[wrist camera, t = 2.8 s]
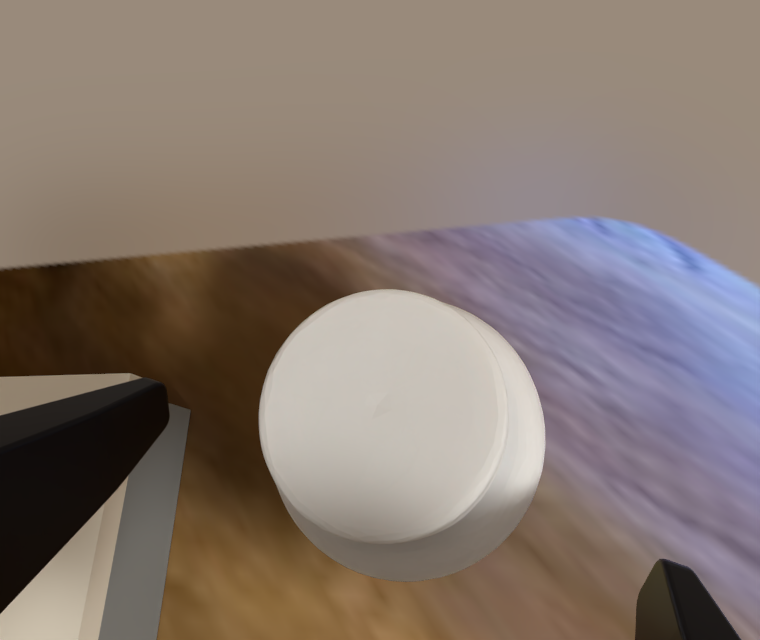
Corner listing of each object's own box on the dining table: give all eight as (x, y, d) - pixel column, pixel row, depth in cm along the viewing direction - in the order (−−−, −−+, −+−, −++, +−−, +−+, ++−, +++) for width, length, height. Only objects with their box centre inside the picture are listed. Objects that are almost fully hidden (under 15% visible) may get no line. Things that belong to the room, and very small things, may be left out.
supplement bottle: (392, 356, 18) (304, 205, 9) (539, 414, 17) (620, 301, 7) (328, 500, 17) (145, 499, 8) (481, 578, 15) (488, 700, 6)
